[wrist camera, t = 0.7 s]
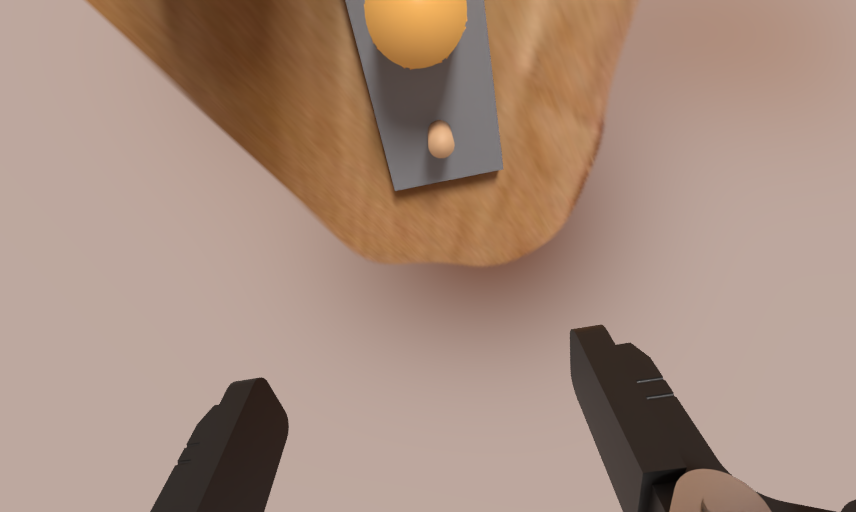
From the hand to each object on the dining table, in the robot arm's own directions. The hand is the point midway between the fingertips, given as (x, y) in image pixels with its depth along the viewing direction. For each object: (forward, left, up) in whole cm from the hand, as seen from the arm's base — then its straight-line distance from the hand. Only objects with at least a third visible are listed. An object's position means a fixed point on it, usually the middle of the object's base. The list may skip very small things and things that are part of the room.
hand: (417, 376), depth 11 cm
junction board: (-5, +2, -22) cm, 23 cm away
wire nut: (-8, +2, -21) cm, 22 cm away
